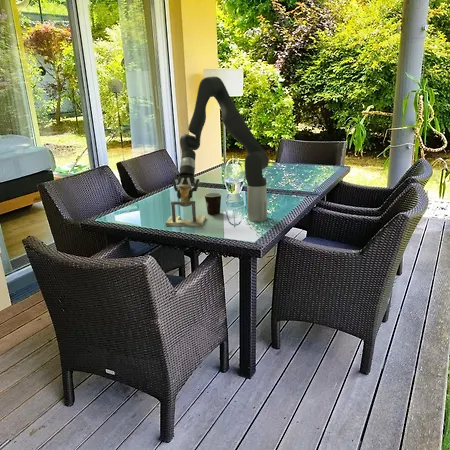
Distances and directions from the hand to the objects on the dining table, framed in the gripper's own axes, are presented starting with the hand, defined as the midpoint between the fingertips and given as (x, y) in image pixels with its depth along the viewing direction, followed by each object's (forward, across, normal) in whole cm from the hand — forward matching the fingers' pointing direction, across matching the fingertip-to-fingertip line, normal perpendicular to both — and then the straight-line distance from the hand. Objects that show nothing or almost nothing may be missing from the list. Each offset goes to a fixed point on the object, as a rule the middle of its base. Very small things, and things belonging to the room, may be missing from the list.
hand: (184, 197), depth 214 cm
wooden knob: (+2, 0, +4) cm, 5 cm away
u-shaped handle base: (+9, 0, +8) cm, 12 cm away
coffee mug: (0, +12, +18) cm, 22 cm away
